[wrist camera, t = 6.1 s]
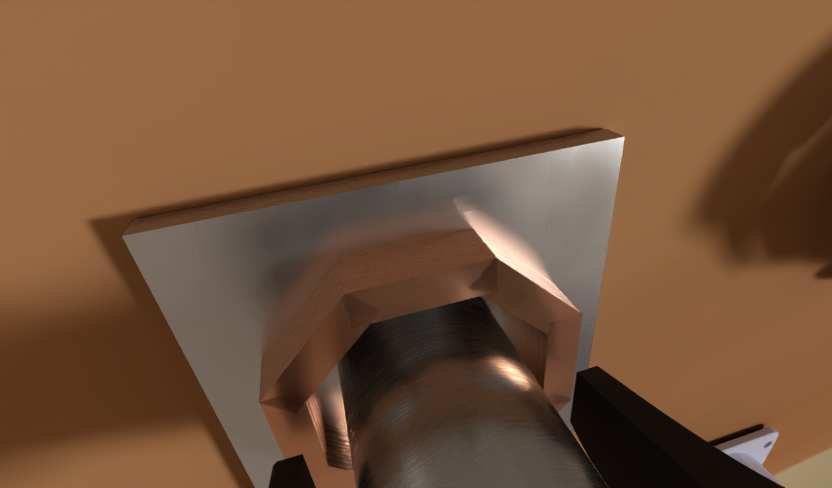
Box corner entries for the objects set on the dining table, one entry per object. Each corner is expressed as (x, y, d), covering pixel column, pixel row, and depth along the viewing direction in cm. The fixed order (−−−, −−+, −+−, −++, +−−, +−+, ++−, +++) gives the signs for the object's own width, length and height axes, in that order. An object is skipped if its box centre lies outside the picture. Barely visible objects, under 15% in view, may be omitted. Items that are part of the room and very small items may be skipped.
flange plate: (567, 412, 18) (601, 462, 16) (275, 503, 16) (274, 573, 14) (605, 128, 12) (668, 154, 10) (132, 219, 10) (96, 275, 8)
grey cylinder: (501, 272, 12) (702, 525, 6) (495, 392, 15) (635, 651, 9) (325, 309, 11) (371, 649, 5) (351, 431, 14) (401, 750, 8)
